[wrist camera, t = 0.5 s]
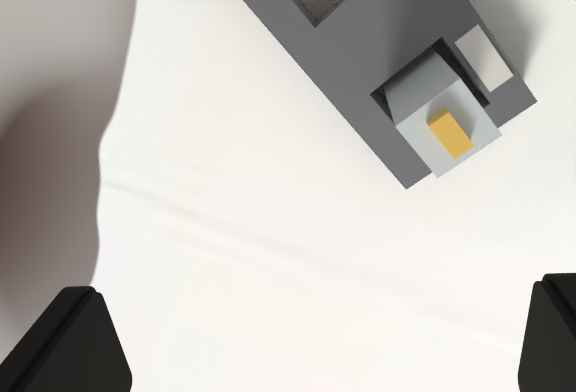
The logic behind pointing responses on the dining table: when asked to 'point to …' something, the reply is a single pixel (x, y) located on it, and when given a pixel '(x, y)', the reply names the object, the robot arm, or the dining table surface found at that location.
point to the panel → (392, 62)
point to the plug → (437, 113)
